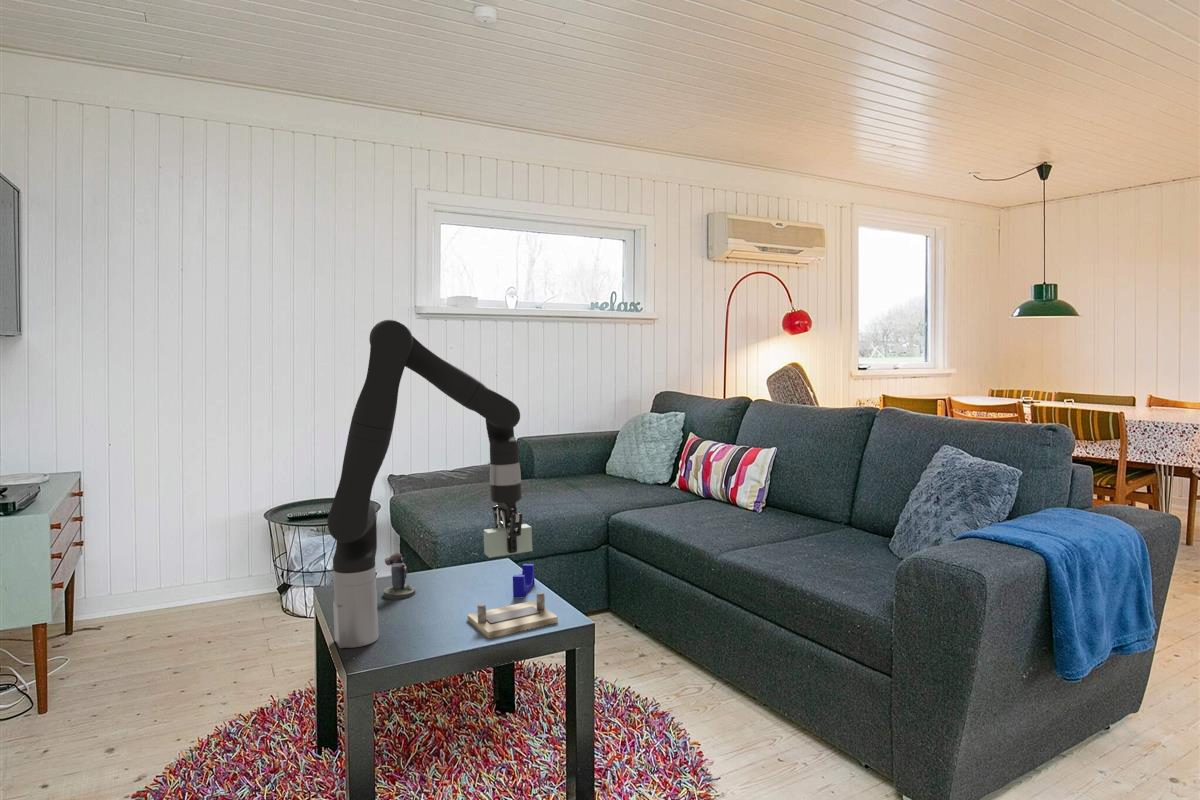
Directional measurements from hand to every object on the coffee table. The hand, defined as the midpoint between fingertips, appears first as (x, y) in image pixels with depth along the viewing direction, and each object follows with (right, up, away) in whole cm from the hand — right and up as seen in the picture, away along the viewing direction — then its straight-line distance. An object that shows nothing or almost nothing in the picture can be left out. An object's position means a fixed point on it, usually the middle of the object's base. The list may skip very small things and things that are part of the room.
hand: (508, 550), depth 177 cm
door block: (0, -1, 0) cm, 1 cm away
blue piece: (+1, -17, +24) cm, 29 cm away
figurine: (-33, -17, +23) cm, 44 cm away
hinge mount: (+1, -18, 0) cm, 18 cm away
